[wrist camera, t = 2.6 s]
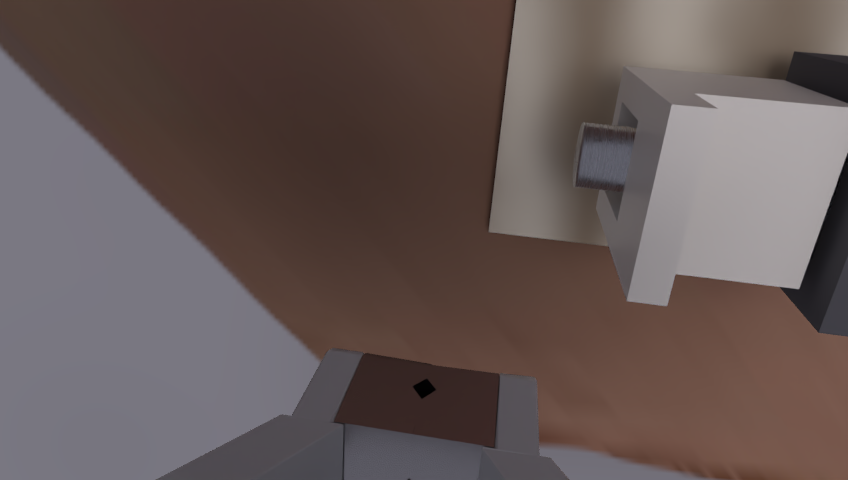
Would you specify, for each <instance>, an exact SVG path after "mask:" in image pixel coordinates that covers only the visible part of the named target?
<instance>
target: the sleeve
mask: <svg viewBox="0 0 848 480" xmlns="http://www.w3.org/2000/svg"><path fill="white" fill-rule="evenodd" d="M612 125H616V126H626V127H636V128H637V129H636V134H635V139H634V144H633V148H632V153H631V158H630V163H629V168H628V172H627V177H626V182H625V187H624V191H623V192H614V191H605V190H599V195H598V200H597V205H596V210H597V213H598V216H599V219H600V222H601V225H602V228H603V231H604V234H605V237H606V240H607V243H608V246H609V249H610V252H611V255H612V258H613V261H614V264H615V267H616V270H617V273H618V276H619V279H620V282H621V285H622V288H623V291H624V294H625V297H626V300H627V301H630V302H638V303H646V304H653V305H661V306H667V305H668V301H669V297H670V293H671V289H672V285H673V282H674V278H675V274H680V275H688V276H696V277H704V278H712V279H720V280H728V281H737V282H745V283H753V284H761V285H769V286H777V287H785V288H793V289H799V288H800V285H801V283H802V280H803V277H804V274H805V271H806V269H807V266H808V263H809V260H810V257H811V254H812V252H813V249H814V246H815V243H816V240H817V238H818V235H819V232H820V229H821V226H822V223H823V221H824V218H825V215H826V212H827V209H828V206H829V204H830V201H831V198H832V195H833V192H834V190H835V187H836V184H837V181H838V178H839V175H840V173H841V170H842V167H843V164H844V161H845V159H846V156H847V153H848V103H846V102H843V101H840V100H837V99H834V98H832V97H829V96H826V95H823V94H821V93H818V92H815V91H812V90H810V89H807V88H804V87H801V86H799V85H796V84H793V83H790V82H788V81H785V80H779V79H768V78H756V77H745V76H734V75H722V74H711V73H700V72H688V71H677V70H666V69H654V68H643V67H631V66H623V71H622V76H621V81H620V86H619V91H618V97H617V102H616V107H615V112H614V117H613V122H612Z"/></svg>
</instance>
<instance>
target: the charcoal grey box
mask: <svg viewBox="0 0 848 480" xmlns="http://www.w3.org/2000/svg"><path fill="white" fill-rule="evenodd" d="M786 81H788V82H790V83H793V84H796V85H799V86H801V87H804V88H807V89H810V90H812V91H815V92H818V93H821V94H823V95H826V96H829V97H832V98H834V99H837V100H840V101H843V102H846V103H848V56H844V55H832V54H820V53H808V52H796V51H794V54H793V57H792V61H791V64H790V67H789V71H788V74H787V77H786ZM780 288H781V289H782V290H783V291H784V293H785V294H786V295H787V296H788V297H789V299H790V300H791V301H792V302H793V303H794V304H795V306H796V307H797V308H798V309H799V310H800V311H801V313H802V314H803V315H804V316H805V317H806V318H807V320H808V321H809V322H810V323H811V324H812V325H813V327H814V328H815V329H816V330H817V331H818V333H825V334H833V335H841V336H848V161H847V164H846V166H845V169H844V172H843V175H842V178H841V180H840V183H839V186H838V189H837V192H836V194H835V197H834V200H833V203H832V206H831V208H830V211H829V214H828V215H825V218H824V221H823V223H822V226H821V229H820V232H819V235H818V238H817V240H816V243H815V246H814V249H813V252H812V254H811V257H810V260H809V263H808V266H807V269H806V271H805V274H804V277H803V280H802V283H801V285H800V288H799V289H793V288H785V287H780Z"/></svg>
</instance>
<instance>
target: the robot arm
mask: <svg viewBox="0 0 848 480" xmlns="http://www.w3.org/2000/svg"><path fill="white" fill-rule="evenodd" d="M156 480H569V479H568V478H567V476H565V474H564V473H563V472H562V471H561V470H560V468H559V467H558V466H557V465H556V464H555V463H554V461H553V460H552V459H551V458H548V457H542V456H539V427H538V398H537V380H536V379H535V377H530V376H521V375H512V374H503V373H500V375H499V374H498V373H490V372H482V371H474V370H467V369H459V368H451V367H444V366H436V365H432V364H429V363H423V362H417V361H411V360H405V359H399V358H393V357H387V356H381V355H375V354H369V353H365V354H364V353H363V352H357V351H350V350H343V349H336V348H332V349H330V350H329V351H327V352H326V354H325V356H324V358H323V360H322V361H321V363H320V365H319V367H318V369H317V370H316V372H315V374H314V376H313V378H312V380H311V381H310V383H309V385H308V387H307V389H306V391H305V392H304V394H303V396H302V398H301V400H300V402H299V403H298V405H297V407H296V409H295V411H294V412H293V414H292V416H288V415H279V416H278V417H276V418H274V419H272V420H270V421H268V422H266V423H264V424H262V425H260V426H258V427H256V428H254V429H253V430H251V431H249V432H247V433H245V434H243V435H241V436H239V437H237V438H235V439H233V440H231V441H230V442H228V443H226V444H224V445H222V446H220V447H218V448H216V449H215V450H212V451H210V452H208V453H206V454H205V455H203V456H201V457H199V458H197V459H195V460H193V461H191V462H189V463H187V464H185V465H183V466H181V467H179V468H178V469H176V470H174V471H172V472H170V473H168V474H166V475H164V476H162V477H160V478H159V479H156Z"/></svg>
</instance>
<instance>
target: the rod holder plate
mask: <svg viewBox="0 0 848 480" xmlns="http://www.w3.org/2000/svg"><path fill="white" fill-rule="evenodd" d="M794 51H796V52H808V53H820V54H832V55H844V56H848V0H516V8H515V16H514V25H513V33H512V41H511V49H510V58H509V66H508V74H507V83H506V91H505V99H504V108H503V116H502V124H501V133H500V141H499V149H498V157H497V166H496V174H495V182H494V191H493V199H492V207H491V216H490V224H489V232H493V233H501V234H510V235H518V236H526V237H535V238H543V239H551V240H560V241H568V242H576V243H585V244H593V245H601V246H608V243H607V240H606V237H605V234H604V231H603V228H602V225H601V222H600V219H599V216H598V213H597V210H596V205H597V200H598V195H599V190H596V189H587V188H578V187H573V164H574V156H575V149H576V144H577V139H578V134H579V130H580V127H581V125H582V123H583V122H585V123H595V124H605V125H612V122H613V117H614V112H615V107H616V102H617V97H618V91H619V86H620V81H621V76H622V71H623V66H631V67H643V68H654V69H666V70H677V71H688V72H700V73H711V74H722V75H734V76H745V77H756V78H768V79H779V80H785V81H786V77H787V74H788V71H789V67H790V64H791V61H792V57H793V54H794Z"/></svg>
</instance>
